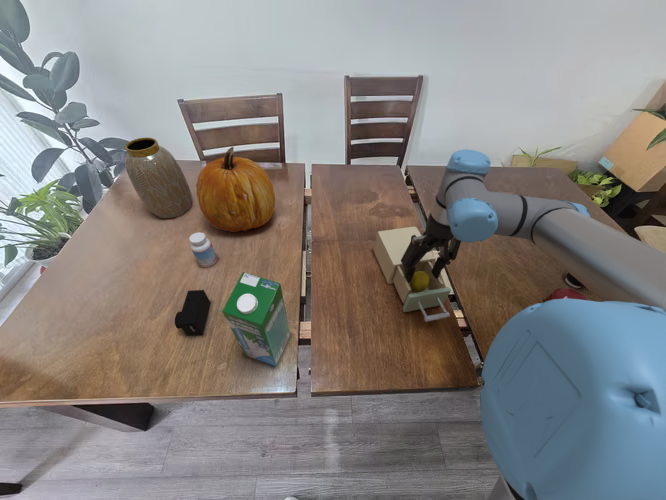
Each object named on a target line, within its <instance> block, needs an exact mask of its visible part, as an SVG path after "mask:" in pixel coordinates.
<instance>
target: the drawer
mask: <svg viewBox="0 0 666 500" xmlns="http://www.w3.org/2000/svg"><path fill="white" fill-rule="evenodd" d="M433 267H434V264H433V265H432V263H431V262H430V261H426V262H420V263H417V264H416V265H415V268H416V270H415V272H417V271H424V272H425V273H427V274H428V276H429V285H428V287H427V288H426V289H425V290H424V291H421V292H417V291H414V290H413V289H412V288H411V286H410V283H408V282H407V280H406V278H405V268H404V266H403V265H401V266H396V268H395V271H394V274H393V277H392V280H393V283H392V284H393V285H394V287H395V289H396V292H397V294H398V296H399V299H400V300H401V302H402V304H403V306H402V312H403V313H407V312H413V311H418V310H420V311H421V313H422V316H423V320H424V322H426V323H428V322H433V321H438V320H442V319H447V318H450V317H451V314H450V312H449V311H447V309H446V308H445V306H444V303H445V302H446V300H447V298H448V296H449V295H450V293H451V292H452V289H451V287H450V286H447V287H443V286H444V282H443V280H442V278H441V277H440V276H439V277H438V278H437V279H435V277H434V276H433V274H432V272H431V271H432V269H433ZM415 272H414V273H415ZM439 306H440V308H441V310H442V312H440V313H436V314H430V315H427V313H426V311H425V309H429V308H433V307H439Z"/></svg>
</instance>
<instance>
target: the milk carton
mask: <svg viewBox="0 0 666 500" xmlns="http://www.w3.org/2000/svg"><path fill="white" fill-rule="evenodd" d="M286 311H287V310H286V306H285V301H284V295H283V290H282V283H281V282H277V281H274V280H271V279H268V278H264V277H261V276H258V275H255V274H251V273H248V272H245V271H242V273H241V274H240V276H239V278H238V280H237V282H236V284H235V286H234V288H233V289H232V292H231V293H230V296H229V297H228V299H227V301H226V303H225V305H224V307H223V309H222V311H221V312H222V314H223V317H224V318H225V320H226V322H227V324H228V326H229V327H230V330H231V331H232V333H233V335H234V338H235V339H236V341H237V343H238V345H239V347H240V349H241V351H242V353H243V354H244V356H246V357H249V358H251V359H253V360H257V361H260V362H262V363H265V364H268V365H270V366H273V367H277V365H278V363H279V362H280V359H281V356H282V354H283V352H284V350H285V348H286V346H287V344H288V341H289V339H290V337H291V333H290V326H289V322H288V317H287V312H286Z"/></svg>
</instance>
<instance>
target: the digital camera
mask: <svg viewBox="0 0 666 500" xmlns="http://www.w3.org/2000/svg"><path fill="white" fill-rule="evenodd" d="M211 303H212V302H211V300H210V299H209V296H208V295H207V293H206V292H205V289H194V290H187V293H186V296H185V299H184V302H183V306H182V309H181V311H177V312H176V314H175V317H174V326H175V328H176V329H181V330H182V332H183V333H184V334H185V335H186V336H187V337H190V336H204V333H205V328H206V324H207V319H208V316H209V313H210V312H209V311H210V307H211Z"/></svg>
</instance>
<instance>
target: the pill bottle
mask: <svg viewBox="0 0 666 500" xmlns="http://www.w3.org/2000/svg"><path fill="white" fill-rule="evenodd" d="M188 239H189V242H190V250H191V252H192V254H193V255H194V258H195V259H196V262H197V263H198V265H199V266H200V267H204V268H208V267H212V266H213V265H215V264H216V263H217V261H218V255H217V253H216V251H215V248H214V247H213V244H212V242H211V240H210V238H208V237H206V234H205V233H204V232H199V231H197V232H193V233H192V234H191V235H190V236H189V238H188Z"/></svg>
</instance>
